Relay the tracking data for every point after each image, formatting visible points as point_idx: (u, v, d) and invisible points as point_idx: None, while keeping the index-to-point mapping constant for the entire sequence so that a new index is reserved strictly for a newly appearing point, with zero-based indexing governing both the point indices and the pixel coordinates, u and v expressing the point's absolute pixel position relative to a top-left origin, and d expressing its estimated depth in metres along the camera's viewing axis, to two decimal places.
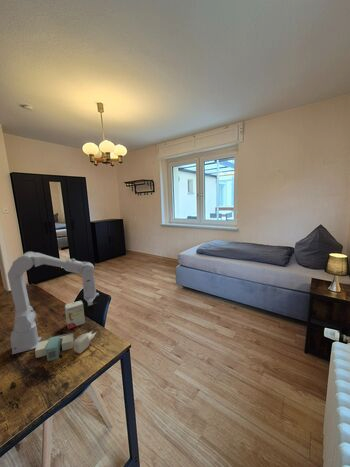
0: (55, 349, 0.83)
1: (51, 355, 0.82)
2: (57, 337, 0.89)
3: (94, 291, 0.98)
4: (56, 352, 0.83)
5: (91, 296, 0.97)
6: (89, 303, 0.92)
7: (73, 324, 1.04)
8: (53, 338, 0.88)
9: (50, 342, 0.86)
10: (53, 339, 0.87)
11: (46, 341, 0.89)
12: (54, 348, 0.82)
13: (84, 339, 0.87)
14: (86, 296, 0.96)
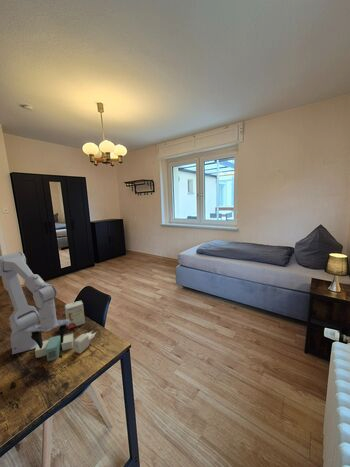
0: (55, 349, 0.83)
1: (51, 355, 0.82)
2: (57, 337, 0.89)
3: (42, 323, 0.79)
4: (56, 352, 0.83)
5: (40, 326, 0.80)
6: None
7: (73, 324, 1.04)
8: (53, 338, 0.88)
9: (50, 342, 0.86)
10: (53, 339, 0.87)
11: (46, 341, 0.89)
12: (54, 348, 0.82)
13: (84, 339, 0.87)
14: None
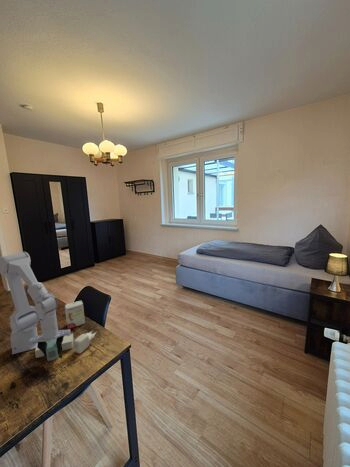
0: (55, 349, 0.83)
1: (51, 355, 0.82)
2: None
3: (43, 334, 0.80)
4: (56, 352, 0.83)
5: (42, 336, 0.81)
6: None
7: (73, 324, 1.04)
8: None
9: (50, 342, 0.86)
10: None
11: None
12: (54, 348, 0.82)
13: (84, 339, 0.87)
14: None
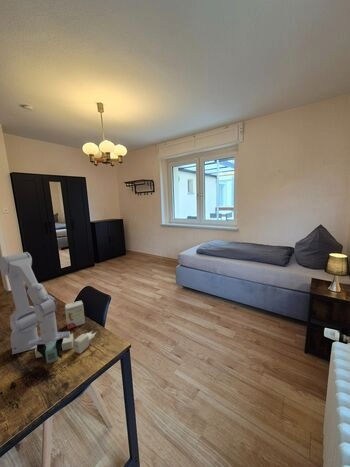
0: (54, 351, 0.81)
1: (51, 357, 0.81)
2: None
3: (43, 336, 0.78)
4: (55, 354, 0.82)
5: (41, 339, 0.79)
6: None
7: (73, 324, 1.04)
8: None
9: (49, 344, 0.84)
10: None
11: None
12: (53, 350, 0.81)
13: (84, 339, 0.87)
14: None
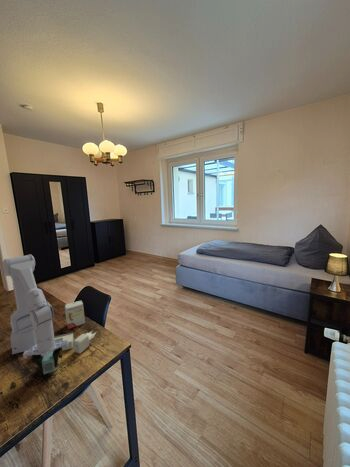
0: (52, 361, 0.76)
1: (48, 367, 0.76)
2: None
3: (39, 346, 0.73)
4: (53, 364, 0.77)
5: (37, 349, 0.74)
6: None
7: (73, 324, 1.04)
8: None
9: None
10: None
11: None
12: (50, 360, 0.76)
13: (84, 339, 0.87)
14: None
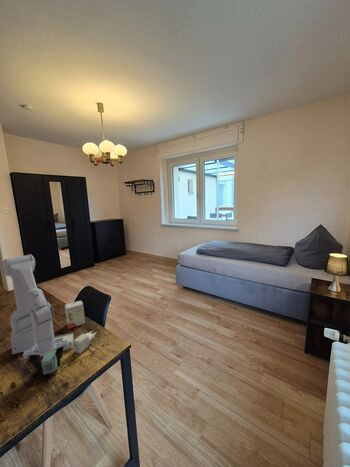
0: (52, 361, 0.76)
1: (48, 368, 0.76)
2: None
3: (39, 346, 0.73)
4: (53, 365, 0.77)
5: (37, 349, 0.74)
6: None
7: (73, 324, 1.04)
8: None
9: None
10: None
11: None
12: (50, 361, 0.76)
13: (84, 339, 0.87)
14: None
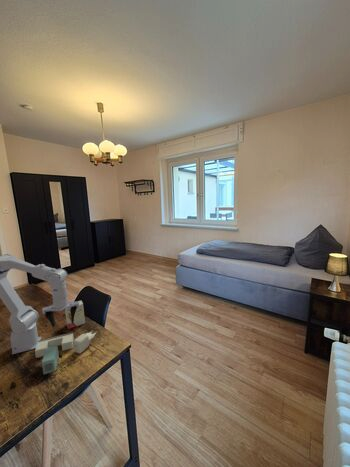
0: (52, 361, 0.76)
1: (48, 368, 0.76)
2: (54, 347, 0.82)
3: (55, 303, 0.86)
4: (53, 364, 0.77)
5: (53, 306, 0.87)
6: None
7: (73, 324, 1.04)
8: (50, 349, 0.82)
9: (46, 353, 0.79)
10: (50, 350, 0.81)
11: (46, 341, 0.89)
12: (50, 361, 0.76)
13: (84, 339, 0.87)
14: None
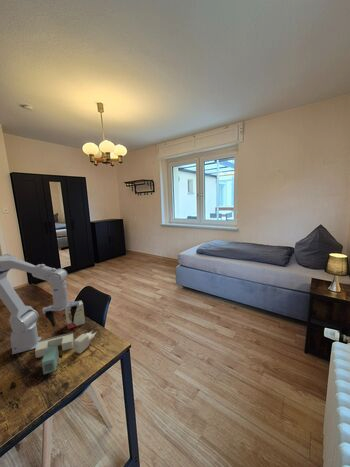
0: (52, 361, 0.76)
1: (48, 368, 0.76)
2: (54, 347, 0.82)
3: (55, 303, 0.86)
4: (53, 365, 0.77)
5: (53, 306, 0.87)
6: None
7: (73, 324, 1.04)
8: (50, 349, 0.82)
9: (46, 353, 0.79)
10: (50, 350, 0.81)
11: (46, 341, 0.89)
12: (50, 361, 0.76)
13: (84, 339, 0.87)
14: None
